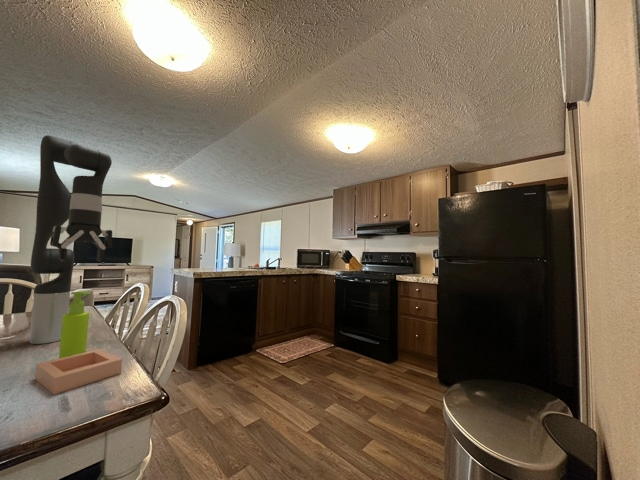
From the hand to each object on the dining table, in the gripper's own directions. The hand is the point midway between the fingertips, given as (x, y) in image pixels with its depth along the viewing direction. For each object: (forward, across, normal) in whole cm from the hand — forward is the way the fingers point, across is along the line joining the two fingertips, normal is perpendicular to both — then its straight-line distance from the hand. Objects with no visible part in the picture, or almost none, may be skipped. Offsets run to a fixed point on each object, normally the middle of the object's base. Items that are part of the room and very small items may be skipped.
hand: (81, 261), depth 80 cm
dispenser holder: (+29, +4, +16) cm, 34 cm away
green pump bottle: (+30, 0, 0) cm, 30 cm away
